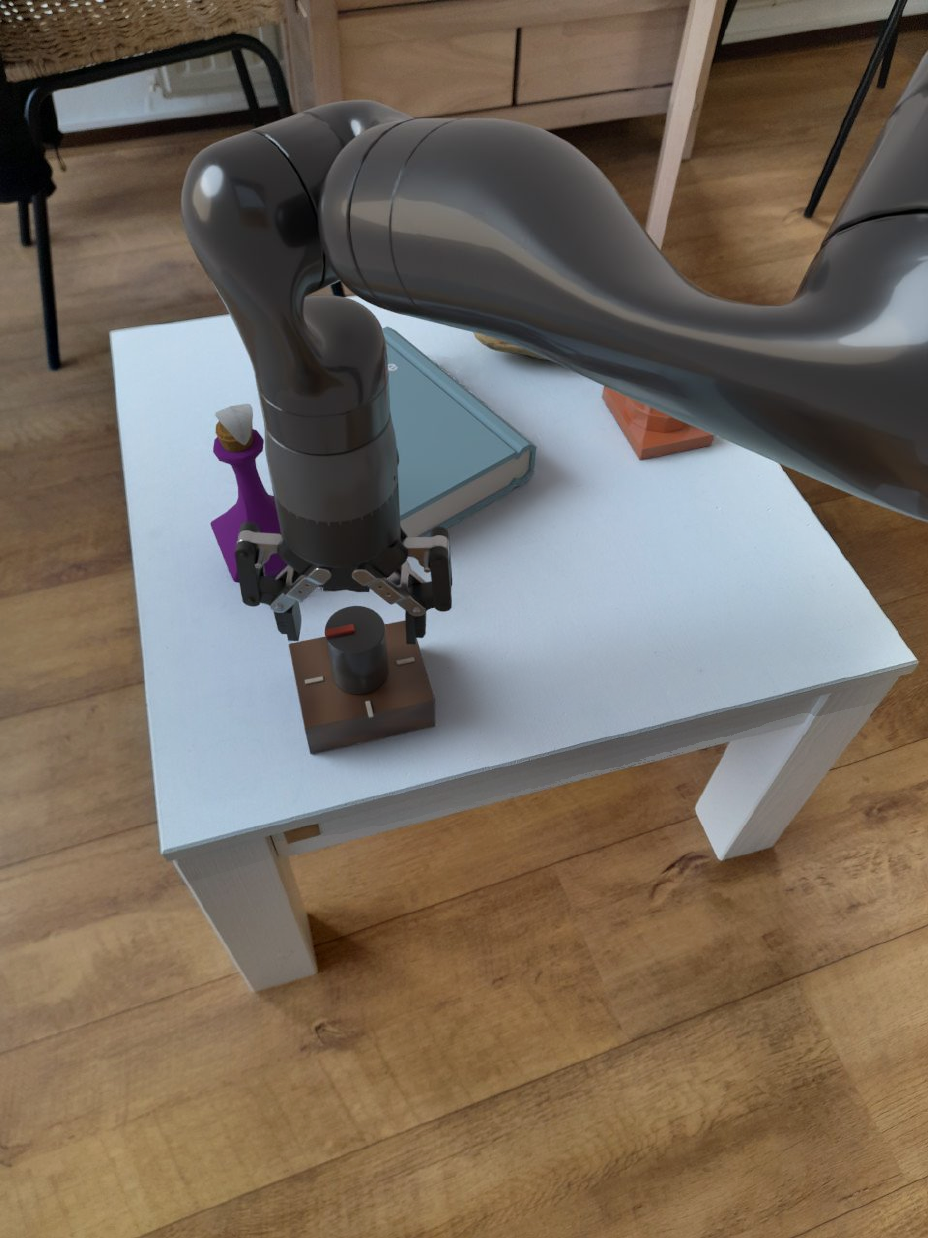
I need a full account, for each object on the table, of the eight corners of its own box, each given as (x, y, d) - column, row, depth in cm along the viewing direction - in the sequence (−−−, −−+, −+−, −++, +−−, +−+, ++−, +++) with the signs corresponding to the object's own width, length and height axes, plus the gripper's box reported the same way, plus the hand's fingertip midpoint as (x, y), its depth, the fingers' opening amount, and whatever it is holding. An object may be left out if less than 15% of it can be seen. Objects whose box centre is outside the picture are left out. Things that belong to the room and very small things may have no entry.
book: (269, 422, 95) (262, 382, 91) (396, 362, 101) (394, 322, 97) (400, 554, 84) (398, 516, 80) (533, 478, 91) (537, 439, 87)
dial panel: (411, 644, 78) (410, 614, 75) (436, 729, 73) (436, 702, 70) (294, 668, 77) (287, 639, 73) (311, 758, 72) (304, 731, 68)
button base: (711, 445, 94) (720, 418, 91) (639, 460, 92) (645, 433, 90) (670, 384, 100) (676, 357, 97) (601, 397, 98) (606, 370, 95)
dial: (381, 642, 74) (377, 597, 69) (394, 688, 71) (390, 644, 66) (327, 654, 73) (319, 609, 68) (337, 700, 70) (329, 656, 66)
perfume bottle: (216, 546, 85) (170, 389, 70) (294, 522, 87) (265, 364, 72) (240, 605, 81) (196, 451, 66) (321, 578, 83) (296, 423, 68)
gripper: (202, 515, 53) (248, 673, 65) (453, 521, 53) (449, 678, 66) (224, 426, 57) (264, 590, 70) (455, 432, 57) (452, 595, 70)
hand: (354, 633), depth 68 cm, fingers open, 8 cm apart
